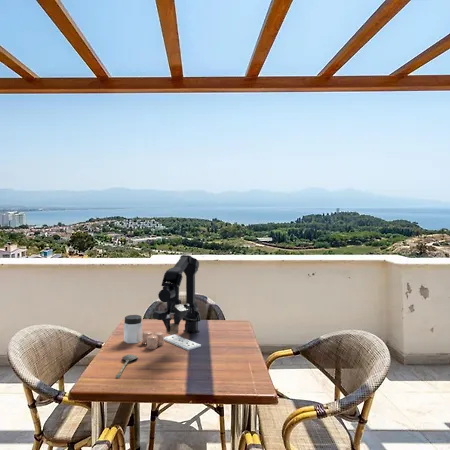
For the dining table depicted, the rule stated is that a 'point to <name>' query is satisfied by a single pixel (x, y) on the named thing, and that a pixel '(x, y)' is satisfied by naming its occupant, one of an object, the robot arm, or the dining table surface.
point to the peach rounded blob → (152, 342)
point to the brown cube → (173, 329)
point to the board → (181, 342)
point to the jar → (133, 329)
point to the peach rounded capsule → (160, 338)
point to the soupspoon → (127, 358)
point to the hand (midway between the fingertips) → (172, 330)
